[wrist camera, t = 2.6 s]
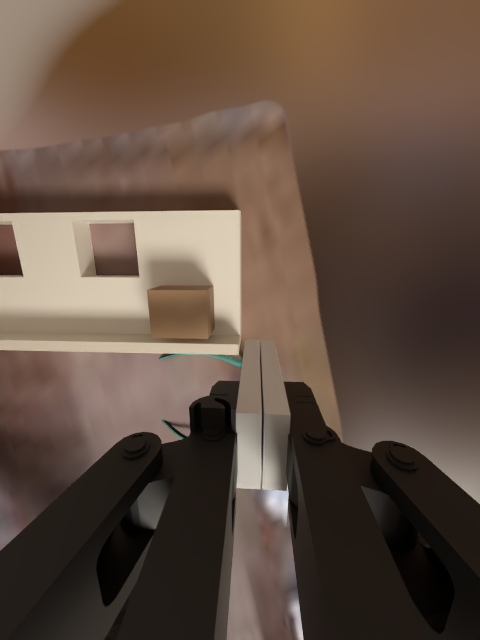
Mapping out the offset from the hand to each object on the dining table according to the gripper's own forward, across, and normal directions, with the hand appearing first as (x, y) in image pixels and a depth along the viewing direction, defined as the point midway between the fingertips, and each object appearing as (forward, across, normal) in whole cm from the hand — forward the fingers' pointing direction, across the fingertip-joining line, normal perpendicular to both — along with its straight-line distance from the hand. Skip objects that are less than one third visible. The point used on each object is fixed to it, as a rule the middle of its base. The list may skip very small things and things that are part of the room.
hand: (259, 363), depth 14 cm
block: (+15, +8, 0) cm, 17 cm away
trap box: (+18, +22, -3) cm, 29 cm away
